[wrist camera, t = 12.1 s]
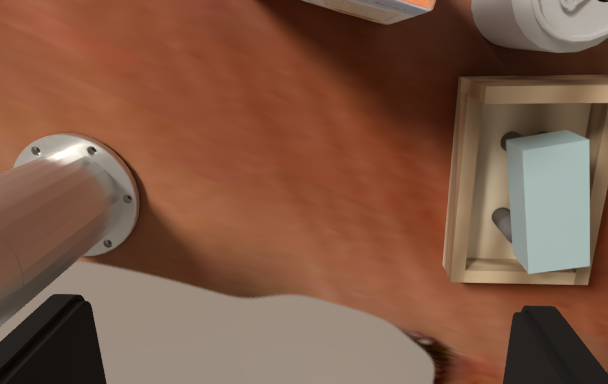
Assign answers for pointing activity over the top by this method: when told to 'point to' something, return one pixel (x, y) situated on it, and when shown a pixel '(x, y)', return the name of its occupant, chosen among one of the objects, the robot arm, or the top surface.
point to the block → (550, 200)
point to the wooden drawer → (494, 171)
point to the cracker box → (379, 8)
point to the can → (542, 23)
